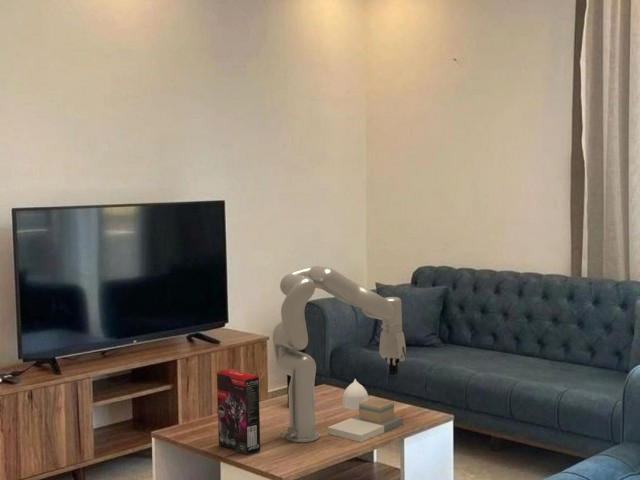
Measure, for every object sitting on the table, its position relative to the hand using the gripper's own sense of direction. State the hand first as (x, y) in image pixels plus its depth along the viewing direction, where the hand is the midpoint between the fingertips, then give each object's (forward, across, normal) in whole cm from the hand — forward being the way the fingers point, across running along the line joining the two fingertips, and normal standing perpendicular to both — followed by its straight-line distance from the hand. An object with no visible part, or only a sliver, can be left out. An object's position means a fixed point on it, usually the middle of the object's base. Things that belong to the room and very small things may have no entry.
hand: (393, 374), depth 315 cm
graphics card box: (+17, -23, -63) cm, 69 cm away
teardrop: (+18, -23, +4) cm, 29 cm away
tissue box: (+18, -43, -10) cm, 47 cm away
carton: (+15, 0, -12) cm, 19 cm away
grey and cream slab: (+17, 0, -18) cm, 25 cm away
